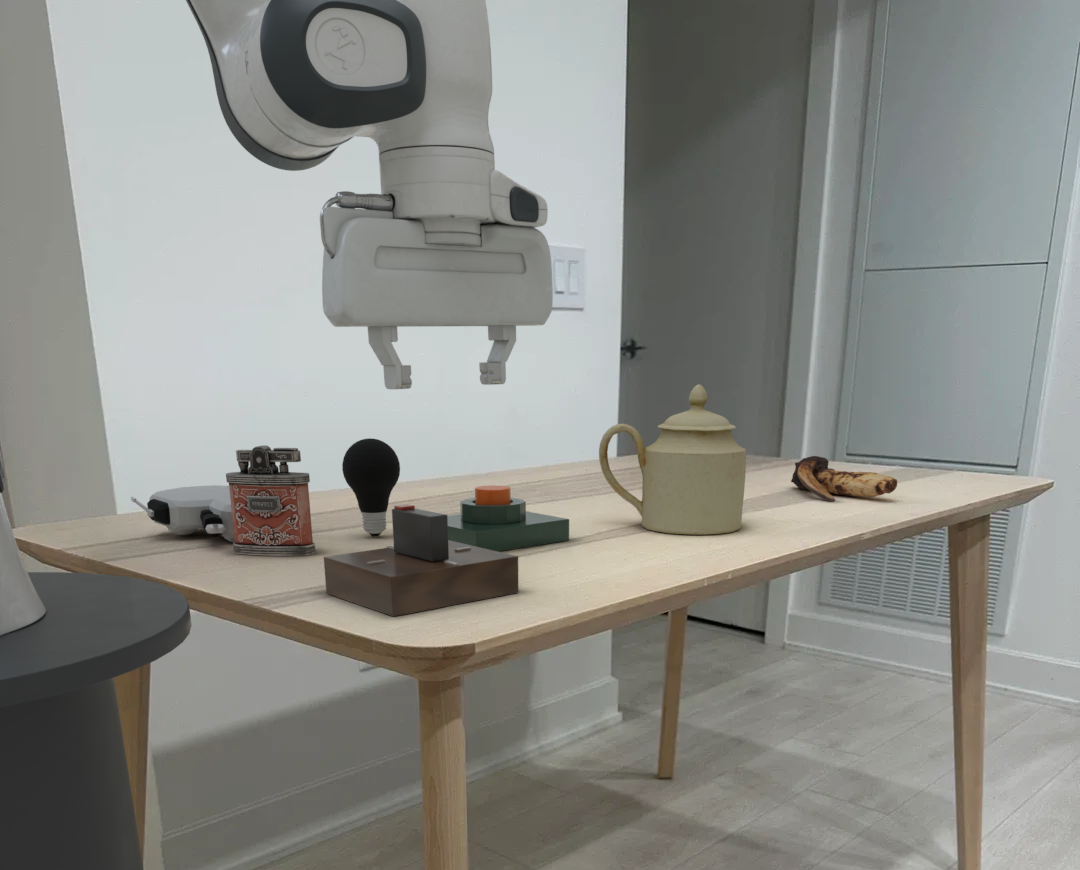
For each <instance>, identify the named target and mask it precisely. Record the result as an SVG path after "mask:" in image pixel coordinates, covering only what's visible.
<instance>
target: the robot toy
mask: <svg viewBox="0 0 1080 870" xmlns="http://www.w3.org/2000/svg"><path fill="white" fill-rule="evenodd" d="M130 501H131V502H132V503H135V504H136V505H137V506H139V507H140V508H141V509H143V511H145V512H146V513H147V516H148V517H149V519H151V521H154V523H156V524H158V525H162V526H164V527H166V528H167V529H168V531H170V532H172V533H174V534H175V535H179V536H189V535H192V534H194V533H195V532H197V530H199V529H200V530H201V529H202V530H203V532H204V533H205V535H206V536H209V537H219V536H221V537H223V538H224V539H225V540H226V541H228V542H230V543H234V542H235V538H234V528H233V519H232V509H231V500H230V490H229V485H217V484H216V485H215V484H214V485H196V486H183V487H182V486H181V487H176V488H175V487H174V488H170V489H164V490H159V491H156V492H154V493H153V494H151V496H150V497H149V501H148V502H147V503H146V506H145V505H144V504H143V503H141V502H140V501H139V500H138V499H137V498H136V497H135V496H131V497H130Z"/></svg>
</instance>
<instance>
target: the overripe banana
mask: <svg viewBox="0 0 1080 870" xmlns="http://www.w3.org/2000/svg"><path fill="white" fill-rule="evenodd" d="M794 466H795V468H794V471H793V473H792V478H791V480H790V483H793V484H794V485H795V486H796V487H797V489H798V490H805V491H806V490H807V491H810V492H811V493H812V494H814V495H815V496H817V497H819V499H822V500H825V501H828V502H836V498H835V497H834V495H838V496H849V497H860V498H862V497H867V498H874V497H878V496H883V495H885V494H891V493H893V492H894V491H895V490H896V489H897V486H898V480H897V478H895V477H893V476H890V475H886V474H885V475H884V474H879V473H877V472H871V471H846V470H835V469H834V468H832V467H831V468H830V467H828V466H829V459H827V458H826V457H823V456H822V457H821V456H818V455H811V456H807V457H804V458H802V459H801V460H800V461H798V462H794ZM832 494H833V495H832Z"/></svg>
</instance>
